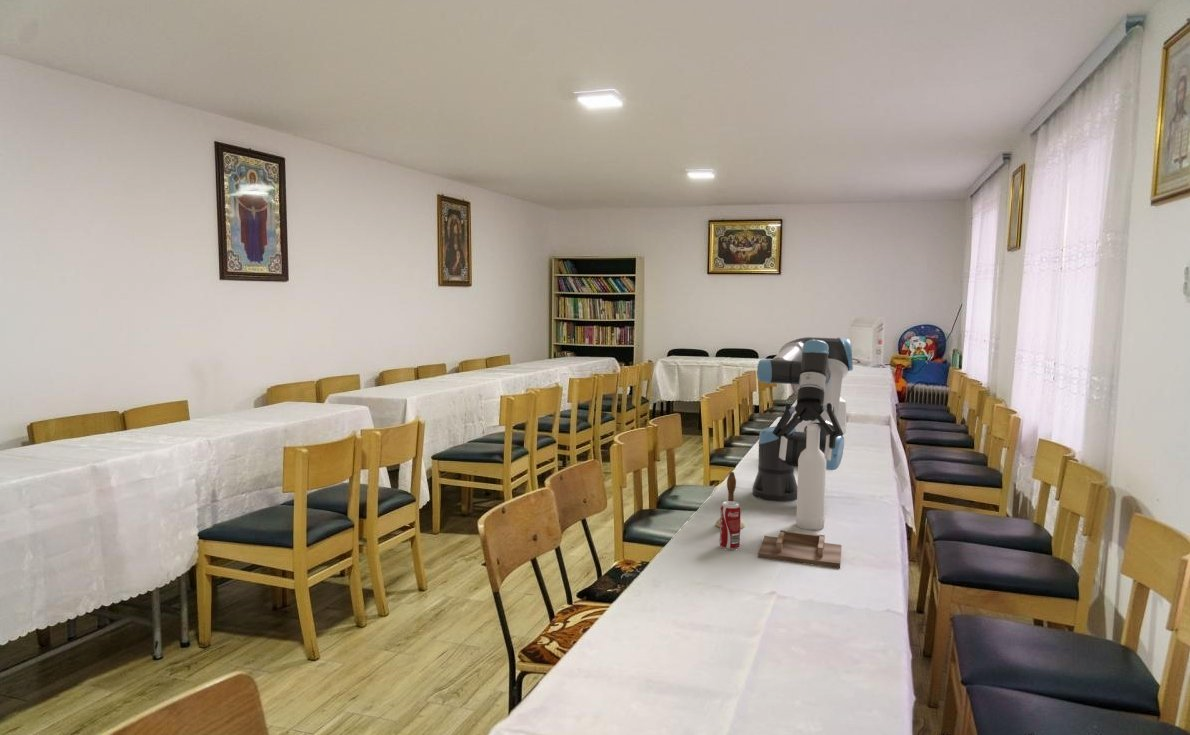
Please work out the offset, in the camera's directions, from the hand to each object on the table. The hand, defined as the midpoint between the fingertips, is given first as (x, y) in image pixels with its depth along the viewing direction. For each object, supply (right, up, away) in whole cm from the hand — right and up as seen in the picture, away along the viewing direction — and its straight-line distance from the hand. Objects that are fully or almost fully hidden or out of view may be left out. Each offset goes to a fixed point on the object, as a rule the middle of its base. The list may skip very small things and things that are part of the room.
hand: (804, 459), depth 200 cm
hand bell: (-20, -20, +6) cm, 29 cm away
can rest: (-6, -22, -17) cm, 29 cm away
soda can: (-24, -22, -12) cm, 35 cm away
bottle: (+3, -20, +5) cm, 21 cm away
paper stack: (+30, -12, +91) cm, 97 cm away
